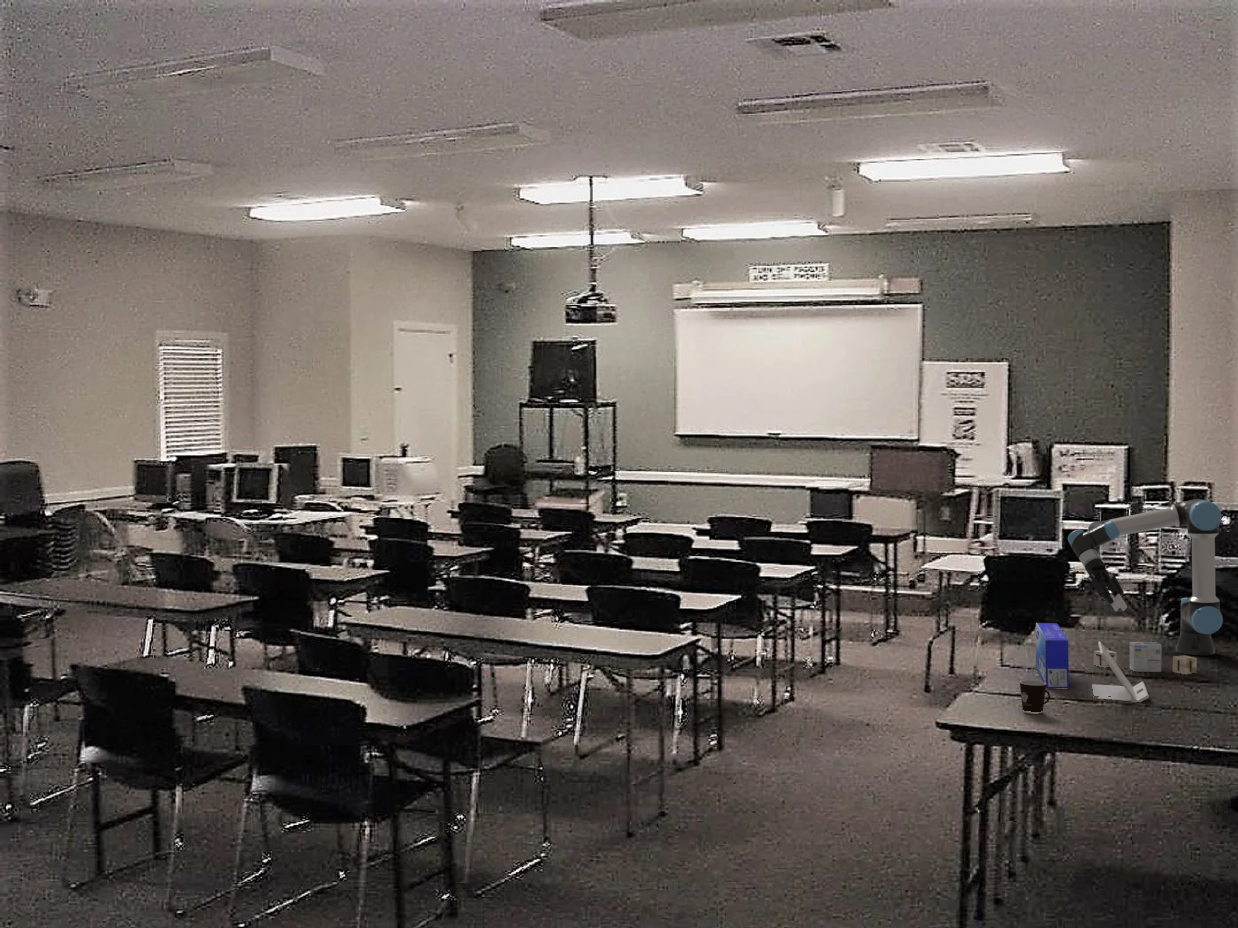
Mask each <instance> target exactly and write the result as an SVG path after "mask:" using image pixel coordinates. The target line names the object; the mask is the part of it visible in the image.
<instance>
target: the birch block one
mask: <svg viewBox="0 0 1238 928" xmlns="http://www.w3.org/2000/svg"><path fill="white" fill-rule="evenodd" d="M1197 659H1198V658H1197V657H1194V656H1189V655H1177V656H1175V655H1174V656H1172V673H1176V674H1180V673H1181V675H1184V674H1185V675H1193V674H1192V673H1196V674H1197V669H1198V668H1197V664H1198V663H1197V661H1198V660H1197Z"/></svg>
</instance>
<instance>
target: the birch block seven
mask: <svg viewBox="0 0 1238 928" xmlns="http://www.w3.org/2000/svg"><path fill="white" fill-rule="evenodd" d="M1106 650H1107V651H1108V653H1109V654H1110V656H1111V657H1112V658H1113V660H1114V661H1115V663H1116V664H1117V651H1112V650H1108V649H1106ZM1094 665H1096V666H1095V667H1097V666H1099V667H1098V668H1101V667H1104V668H1103V669H1107V668H1106V667H1110V666H1109V665H1108V663H1107V662H1106V660H1105V659H1104V658H1103V656H1102V655H1101V652H1100V649H1099V650H1093V666H1094Z"/></svg>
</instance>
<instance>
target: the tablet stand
mask: <svg viewBox="0 0 1238 928" xmlns="http://www.w3.org/2000/svg"><path fill="white" fill-rule="evenodd" d="M1098 647H1099V650H1100V652H1101V655H1102V656H1103V658H1104V659H1105V660H1106V662H1107V663H1108V665H1109V666H1110V668H1109V669H1111V670H1112V672H1113V673H1114V675H1115V676H1116V678H1118V680H1119V682H1120V684H1121V685H1115V684H1114V685H1113V684H1112V685H1110V684H1094V683H1092V684H1091V689H1093V691H1092V696H1093V695H1094V696H1099V697H1098V699H1112V700H1123V701H1131V702H1130V703H1137V702H1139V703H1142V702H1143V701H1145V700H1147V699H1149V698H1150V695H1149V692H1148V689H1147V687H1146V684H1145V682H1144V681H1140V682H1139V683H1137V684H1135V685H1134V686H1133V685H1132V684H1131V683H1130V681H1129V679H1128V678H1127V677H1126V676H1125V674H1124V672H1123V671H1122V670H1121V668H1120V666H1118V663H1117V662H1116V663H1115V661H1114V660H1113V658H1112V657H1111V656H1110V654H1109V653H1108V651H1109V650H1108V649H1107V648H1106V647H1105V646H1104V644H1103V643H1102V642H1101V641H1100V640H1099V641H1098ZM1107 650H1108V651H1107ZM1094 696H1093V697H1094ZM1108 696H1111V697H1108Z"/></svg>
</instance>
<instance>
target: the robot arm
mask: <svg viewBox="0 0 1238 928" xmlns="http://www.w3.org/2000/svg"><path fill="white" fill-rule="evenodd" d="M1221 521H1222V513H1221V509H1220V508H1219V506H1218V505H1216V504H1215V503H1214V502H1212V501H1210V500H1207V499H1202V498H1193V499H1189V500H1186V501H1183V502H1178V503H1175V504H1171V506H1170V507H1167V508H1162V509H1158V510H1152V511H1147V512H1142V513H1137V514H1132V515H1127V516H1121V517H1117V518H1111V519H1107V520H1102V521H1100V520H1099V521H1098V520H1097V521H1093V522H1091V523H1089V525H1088V527H1087V531H1084V530H1083V529H1079V528H1078V529H1076V530H1073V531H1072V532H1070V534H1068V536H1067V541H1068V543H1069V546H1071V549H1072V550H1073V552H1074V553H1075V555H1076V557H1078V558H1077V559H1079V561H1080V563H1081V564H1082V566H1083V568H1084V570H1085V572H1087V575H1088V576H1087V578H1086V580H1087V581H1088V582H1089V583H1090V584H1091V585H1092V587H1093V588H1094V590H1095V591H1096V593H1097V594H1098V595H1099V597H1101V598H1103V599H1104V600H1107V602H1108V603H1109V604H1110V605H1111V607H1112V608H1113V610H1114V612H1118V611H1119V610H1121V611H1122V612H1124V611H1125V610H1126V609H1127V608H1128V605H1127V604H1126V603H1125V599H1124V598H1123V596H1122V594H1124V590H1123V588H1122V586H1121V585H1120V582H1119V580H1118V579H1117V577H1116V576H1117V575H1116V573H1115V572H1113V573H1110V571H1108V570H1107V569H1106V564H1105V562H1104V561H1103V560H1102V558H1101V556H1100V555H1099V553H1098V551H1097V550H1096V548H1098V547H1100V546H1102V545H1103V546H1104V544H1107V543H1109V542H1111V541H1114V540H1115V539H1118V538H1119V537H1121V536H1125V535H1126V536H1127V535H1131V534H1136V533H1142V532H1149V531H1152V530H1157V529H1158V530H1159V529H1162V528H1163V529H1164V528H1167V527H1174V526H1175V527H1177V528H1181V527H1187V534H1188V535H1189V536H1190V537H1191V570H1192V571H1191V577H1192V578H1191V579H1192V580H1191V581H1192V588H1191V589H1192V590H1191V591H1192V595H1191V596H1190V597H1183V598H1181V602H1180V634H1179V637H1178V639H1177V643H1176V644H1175V652H1176V653H1179V654H1182V655H1188V656H1189V655H1190V656H1212V655H1213V656H1214V655H1215V654H1216V648H1215V646H1214V642H1213V638H1212V634H1214V633H1216V632H1217V631H1219V630H1220V628H1221V627H1222V625H1223V622H1224V619H1223V614H1222V612H1221V608H1220V599H1219V598H1218V597H1217V596H1216V543H1215V541H1216V540H1215V538H1216V537H1217V536H1218V535H1219V534H1220V533H1219V532H1220V531H1219V529H1220V528H1219V525H1220V524H1221ZM1109 590H1110V591H1109ZM1111 593H1112V594H1111Z"/></svg>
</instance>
